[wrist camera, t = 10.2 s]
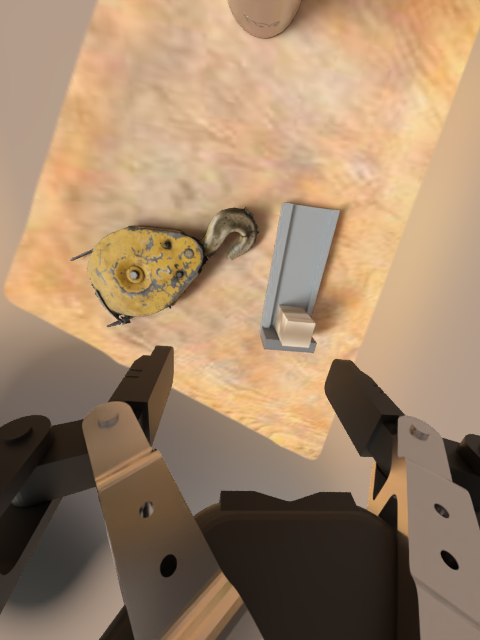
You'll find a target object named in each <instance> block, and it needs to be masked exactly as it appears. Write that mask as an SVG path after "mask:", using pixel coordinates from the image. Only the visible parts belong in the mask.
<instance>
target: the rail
mask: <svg viewBox="0 0 480 640" xmlns="http://www.w3.org/2000/svg"><path fill="white" fill-rule="evenodd" d="M339 213H340V210H330V209H323V208H316V207H309V206H302V205H295V204H292V203H282V206H281V212H280V218H279V224H278V229H277V235H276V241H275V246H274V252H273V258H272V263H271V269H270V275H269V280H268V286H267V292H266V298H265V303H264V309H263V315H262V320H261V326H260V332H259V333H260V337H261V340H262V344H263V347H264V349H269V350H282V351H295V352H308V353H314V351H315V347H316V344H317V343H316V342H315V340H314V339H313V337H312V338H311V342H310V345H309V348H305V347H292V346H282V343H281V341H280V339H279V337H278V334H277V332H276V330H275V328H274V325H275V320H276V315H277V310H278V305H283V306H293V307H302V308H303V309H304V310H305V312H306V313H307V314H308V315H309V316H310V317H311V316H312V312H313V309H314V305H315V301H316V298H317V294H318V290H319V286H320V283H321V279H322V275H323V272H324V268H325V264H326V261H327V257H328V253H329V250H330V246H331V242H332V239H333V235H334V231H335V228H336V224H337V220H338V217H339Z"/></svg>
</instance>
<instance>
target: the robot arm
mask: <svg viewBox="0 0 480 640" xmlns="http://www.w3.org/2000/svg"><path fill="white" fill-rule="evenodd" d="M228 3H229V6H230V8H231V11H232V13H233V15H234V17H235V19H236V20H237V22H238V23H239V24H240V26H241V27H242V28H243V29H244V30H245V31H247V32H248V33H249V34H251V35H253V36H256V37H259V38H269V37H273V36H276V35H277V34H279V33H281V32H282V31H283V30H284V29H285V28H287V27H288V26H289V24H290V23H291V21H292V20H293V19H294V17H295V15H296V13H297V11H298V9H299V6H300V3H301V0H228ZM173 375H174V350H173V347H171V346H156V347H155V349H154V350H153V352H152V354H151V356H147V355H143V356H141V357H140V358H139V359H137V360H136V361H134V363H133V364H132V366H131V367H130V369H129V371H128V372H127V374H126V375H125V377H124V378H123V380H122V381H121V383H120V384H119V386H118V388H117V389H116V390H115V392H114V394H113V395H112V397H111V398H110V400H109V401H108V403H104V404H102V405H100V406H97V407H96V408H94V409H93V410H91V411H90V412H89V413H88V414H87V415H86V416H85V418H84V419H82V420H78V421H74V422H69V423H64V424H59V425H54V426H52V425H51V422H50V420H49V419H48V418H47V417H45V416H41V415H31V416H26V417H21V418H19V419H16V420H13V421H11V422H9V423H7V424H5V425H3V426H2V427H0V614H1V612H2V610H3V608H4V606H5V604H6V602H7V601H8V599H9V597H10V595H11V593H12V591H13V589H14V587H15V586H16V584H17V582H18V580H19V578H20V576H21V574H22V572H23V570H24V569H25V567H26V565H27V563H28V561H29V559H30V557H31V555H32V554H33V552H34V550H35V548H36V546H37V544H38V542H39V541H40V539H41V537H42V535H43V533H44V531H45V529H46V527H47V525H48V524H49V522H50V520H51V518H52V516H53V514H54V512H55V511H56V509H57V507H58V505H59V503H60V501H61V499H62V497H63V496H67V495H70V494H74V493H77V492H80V491H83V490H87V489H90V488H93V487H96V489H97V493H98V498H99V502H100V506H101V510H102V514H103V518H104V522H105V527H106V531H107V534H108V539H109V543H110V547H111V551H112V555H113V560H114V564H115V568H116V573H117V576H118V580H119V585H120V589H121V593H122V597H123V601H124V606H123V608H122V609H121V610H120V612H119V613H118V615H117V616H116V617H115V619H114V620H113V621H112V623H111V624H110V625H109V627H108V628H107V630H106V631H105V632H104V634H103V635H102V636H101V638H100V639H99V640H480V436H478V435H474V434H468V435H466V436H465V437H464V439H463V440H462V442H461V443H458V442H455V441H451V440H448V439H444V438H442V437H441V436H440V435H439V433H438V432H437V431H436V430H435V429H434V428H432V427H431V426H430V425H428V424H427V423H425V422H423V421H421V420H420V419H417V418H415V417H411V416H405V415H404V413H403V412H402V411H401V410H400V409H399V408H398V407H397V406H396V405H395V404H394V402H393V401H392V400H391V399H390V398H389V397H388V396H387V395H386V394H385V393H384V392H383V390H382V389H381V388H380V387H378V385H377V384H376V383H375V382H374V381H373V379H372V378H370V377H369V376H368V375H366V374H365V373H363V372H362V371H360V370H359V368H358V367H357V366H356V365H355V364H354V363H353V362H352V361H351V360H341V359H335V360H334V361H333V362H332V365H331V368H330V370H329V373H328V376H327V379H326V382H325V394H326V396H327V398H328V400H329V402H330V403H331V405H332V407H333V409H334V411H335V412H336V414H337V416H338V418H339V419H340V421H341V423H342V425H343V426H344V428H345V430H346V432H347V434H348V435H349V437H350V439H351V441H352V442H353V444H354V446H355V448H356V449H357V451H358V453H359V455H360V456H361V457H373V458H374V459H375V462H374V464H373V466H372V472H371V481H370V489H369V490H370V491H369V498H368V506H367V510H366V509H364V508H362V507H359V506H357V505H356V504H355V501H354V499H353V497H352V495H351V493H349V492H319V493H316V494H313V495H310V496H307V497H304V498H301V499H298V500H295V501H285V500H281V499H278V498H274V497H272V496H268V495H265V494H261V493H258V492H255V491H221V493H220V501H219V503H217V504H214V505H211V506H209V507H207V508H205V509H203V510H202V511H200V512H199V513H197V514H196V515H195V516H193V515H192V513H191V511H190V509H189V507H188V505H187V503H186V502H185V500H184V498H183V496H182V494H181V492H180V491H179V488H178V486H177V484H176V482H175V480H174V479H173V477H172V475H171V473H170V471H169V469H168V467H167V465H166V463H165V461H164V459H163V458H162V456H161V454H160V452H159V451H158V450H157V449H155V450H152V449H151V447H152V444H153V441H154V438H155V435H156V432H157V429H158V426H159V423H160V420H161V417H162V414H163V411H164V408H165V405H166V402H167V399H168V396H169V393H170V390H171V387H172V383H173Z"/></svg>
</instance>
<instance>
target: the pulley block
mask: <svg viewBox="0 0 480 640" xmlns="http://www.w3.org/2000/svg"><path fill="white" fill-rule="evenodd" d="M253 216H254V214H252V213H250V211H249V210H248V209H246V207H245V209H239V208H229V209H225V210H222V211H220V212H219V213H217V214H216V215H215V216H214V217H213V219H212V220H211V222H210V224H209V227H208V230H207V233H206V235H205V236H204V238H203V239H202V240H200V241H199V240H197V239H196V238H194V237H191V236H188V235H186V234H185V233H184V232H182V231H181V230H174V229H165V228H154V227H142V226H128V227H126V228H124V229H121V230H118V231H116V232H113V233H111V234H109V235H107V236H106V237H104V238H103V239H102V240H101V241H100V242H99V243H98V244H97V245H96V246H95V247H94V249H92V250H90V251H87V252H85V253H83V254H81V255H79V256H77V257H74V258H72V259H71V260H70V261H73V260H76V259H78V258H80V257H82V256H84V255H87V254H91V256H90V259H89V261H88V267H87V272H88V275H89V277H90V280H91V282H92V286H93V288H94V289H95V294H96V296H97V297H98V298H99V300H100V302H101V303H102V305H103V306H104V307H105V309H106V310H107V311H108V312H109V313H110V314H111V315H113V316H114V317H115V318H116V319H117V320H118V321H116V322H114V323H112V324H110V325H107V327H111V326H116V325H118V324H119V325H120V324H121V323H122V325H123V324H127V323H130V320H129V319H131V318H133V317H137V316H148V315H151V314H154V313H157V312H159V311H161V310H163V309H165V308H167V307H170V308H171V305H174V304H175V302H176V300H177V299H178V298H179V297H180V295H181V294H182V293H183V292H185V290H186V288H187V287H188V286H189V285H190V284H191V283H192V282H193V281H194V280H195V279H196V278H197V276H198V275H199V274H200V272H201V270H202V266H203V265H204V264H206V261H207V260H208V258H207V256H209V257H214V254H215V251H216V249H218V248H219V247H220V246H221V245H222V244H223V243H224V242H225V241H226V238H227V237H228V235H229V234H230V233H231V232H234V231H236V232H239V233H240V238H239V240H238V241H237V242H236V243H235V244H234V245H233V246H232V247H231V248H230V249H229V251H228V252H227V259H228V260H232V259H234V258H236V257H238V256H240V255H241V254H243V253H245V252H247V251H248V250H249V249H251V248H252V246H253V244H254V243H255V241H256V236H257V234H258V233H259V232H258V231H257V227H258V226H257V224H256V223H255V220H254V218H253ZM119 315H125V317H122V316H121V318H122V319H120V318H119ZM127 315H128V316H127Z"/></svg>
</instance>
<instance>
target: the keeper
mask: <svg viewBox="0 0 480 640" xmlns="http://www.w3.org/2000/svg"><path fill="white" fill-rule="evenodd" d="M315 324H316V323H315V322H314V321H313V320H312V319H311V317H310V316H309V315H308V314H307V313H306V312H305V310H304V309H303V308H302V307H293V306H283V305H278V310H277V315H276V320H275V325H274V328H275V330H276V332H277V334H278V337H279V339H280V341H281V343H282V346H292V347H305V348H309V345H310V342H311V338H312V335H313V331H314V328H315Z"/></svg>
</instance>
